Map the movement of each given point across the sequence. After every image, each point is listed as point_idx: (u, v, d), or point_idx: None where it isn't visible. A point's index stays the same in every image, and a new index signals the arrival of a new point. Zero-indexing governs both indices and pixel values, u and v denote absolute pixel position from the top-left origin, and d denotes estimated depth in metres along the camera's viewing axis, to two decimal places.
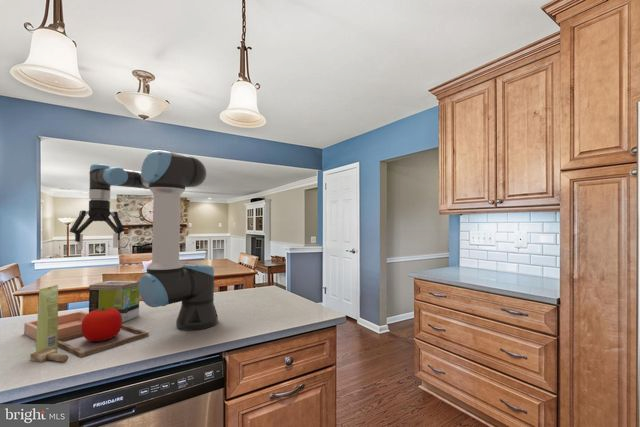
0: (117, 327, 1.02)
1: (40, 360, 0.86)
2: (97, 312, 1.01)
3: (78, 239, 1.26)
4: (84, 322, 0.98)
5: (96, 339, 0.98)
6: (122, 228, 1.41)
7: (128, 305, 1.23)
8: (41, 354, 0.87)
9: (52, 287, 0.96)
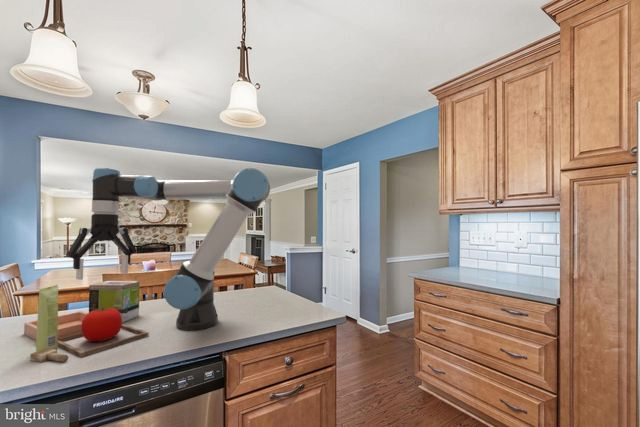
0: (117, 327, 1.02)
1: (40, 360, 0.86)
2: (97, 312, 1.01)
3: (77, 266, 0.97)
4: (84, 322, 0.98)
5: (96, 339, 0.98)
6: (133, 248, 1.11)
7: (128, 305, 1.23)
8: (41, 354, 0.87)
9: (52, 287, 0.96)
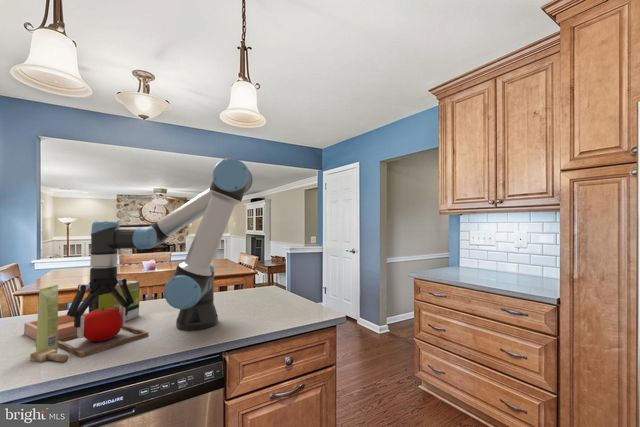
0: (117, 327, 1.02)
1: (40, 360, 0.86)
2: (97, 312, 1.01)
3: (78, 324, 0.96)
4: (84, 322, 0.98)
5: (96, 339, 0.98)
6: (131, 300, 1.10)
7: None
8: (41, 354, 0.87)
9: (52, 287, 0.96)
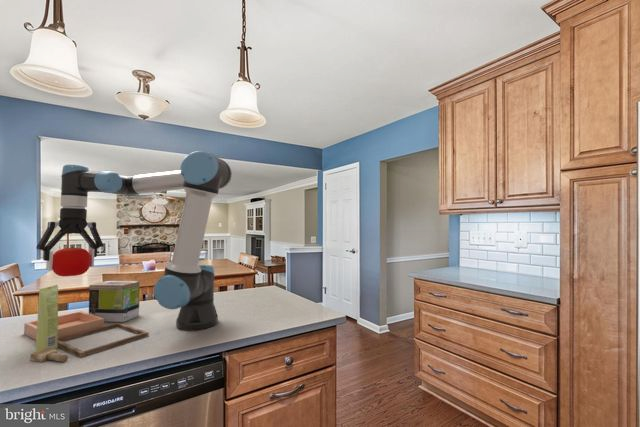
0: (85, 264, 1.09)
1: (40, 360, 0.86)
2: (66, 249, 1.08)
3: (47, 257, 1.03)
4: (53, 257, 1.05)
5: (64, 273, 1.05)
6: (100, 242, 1.17)
7: (128, 305, 1.23)
8: (41, 354, 0.87)
9: (52, 287, 0.96)
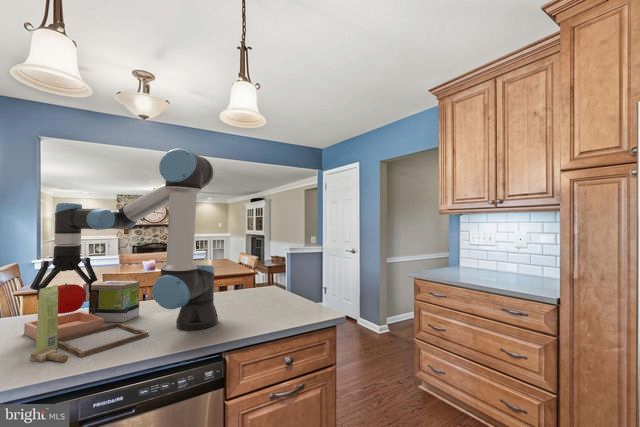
0: (79, 301, 1.09)
1: (40, 360, 0.86)
2: (60, 287, 1.08)
3: None
4: None
5: (58, 311, 1.06)
6: (94, 277, 1.18)
7: (128, 305, 1.23)
8: (41, 354, 0.87)
9: (52, 287, 0.96)
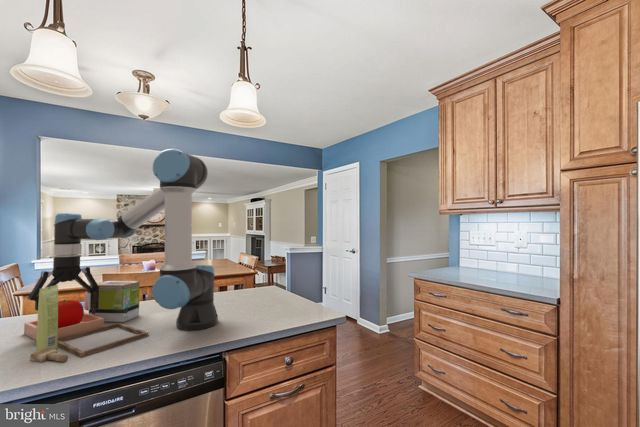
0: (78, 318, 1.09)
1: (40, 360, 0.86)
2: (58, 303, 1.08)
3: None
4: None
5: None
6: (96, 286, 1.18)
7: (128, 305, 1.23)
8: (41, 354, 0.87)
9: (52, 287, 0.96)
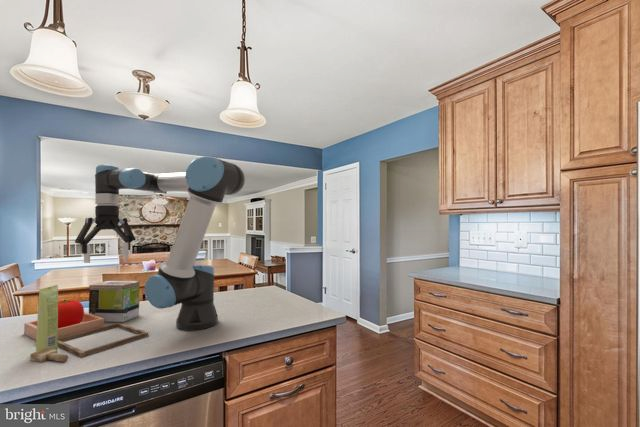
0: (78, 318, 1.09)
1: (40, 360, 0.86)
2: (59, 303, 1.08)
3: (85, 251, 1.10)
4: None
5: None
6: (132, 236, 1.25)
7: (128, 305, 1.23)
8: (41, 354, 0.87)
9: (52, 287, 0.96)
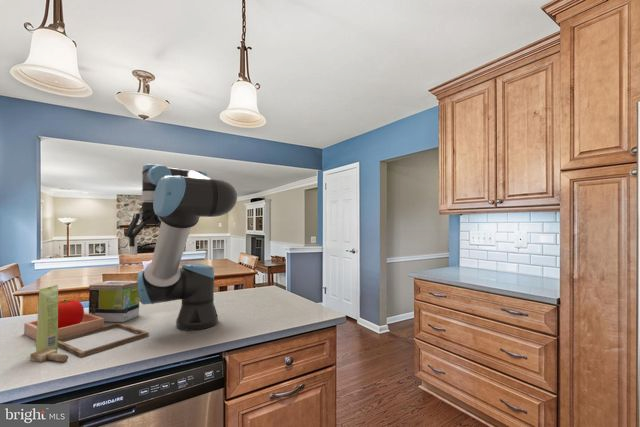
0: (78, 318, 1.09)
1: (40, 360, 0.86)
2: (59, 303, 1.08)
3: (133, 244, 1.19)
4: None
5: None
6: None
7: (128, 305, 1.23)
8: (41, 354, 0.87)
9: (52, 287, 0.96)
